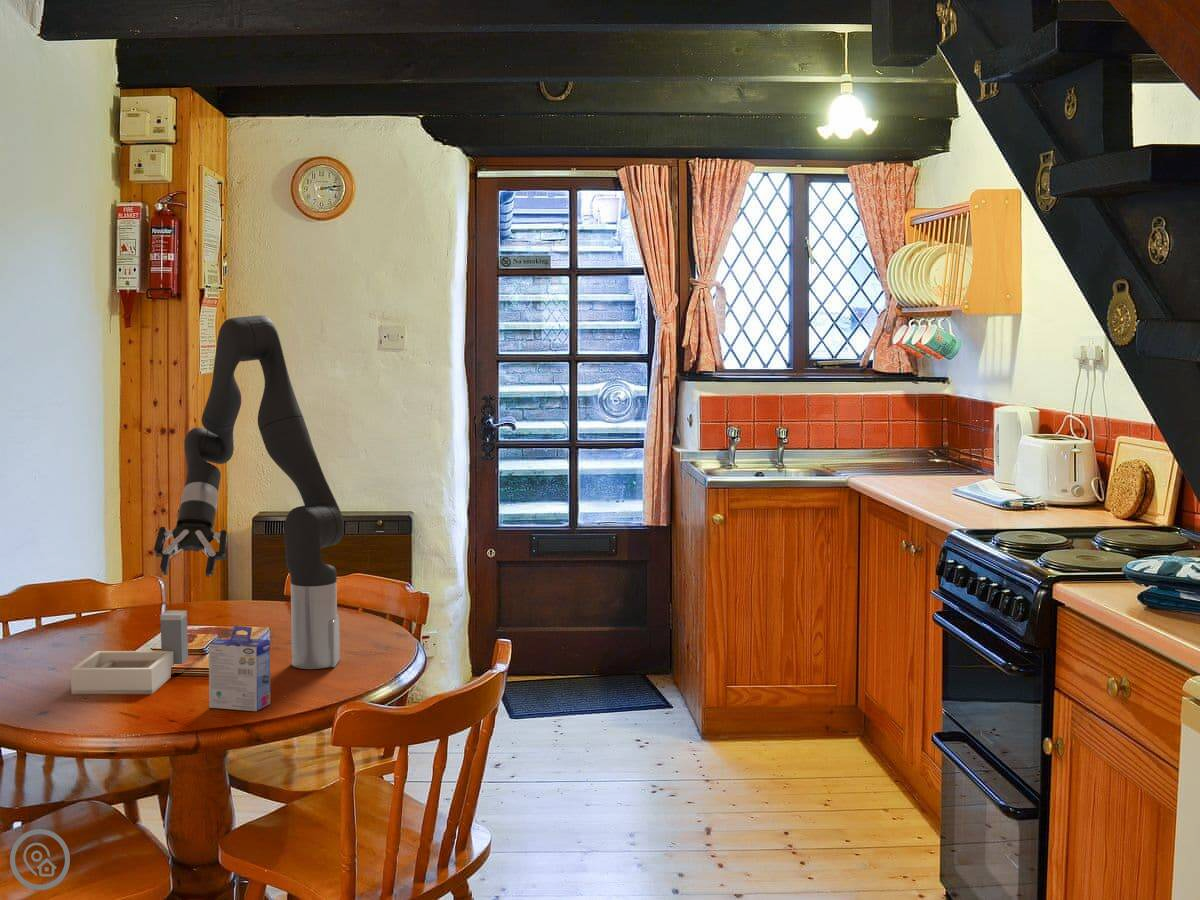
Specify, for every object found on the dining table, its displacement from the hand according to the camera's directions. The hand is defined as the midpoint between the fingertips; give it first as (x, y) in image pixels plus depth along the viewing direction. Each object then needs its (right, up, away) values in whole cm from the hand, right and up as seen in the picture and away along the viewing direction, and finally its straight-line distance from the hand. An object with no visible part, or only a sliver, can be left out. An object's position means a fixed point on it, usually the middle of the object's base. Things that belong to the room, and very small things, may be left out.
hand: (186, 574), depth 249 cm
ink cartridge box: (+20, -21, -29) cm, 41 cm away
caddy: (-6, -20, -16) cm, 26 cm away
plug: (0, -19, -7) cm, 20 cm away
